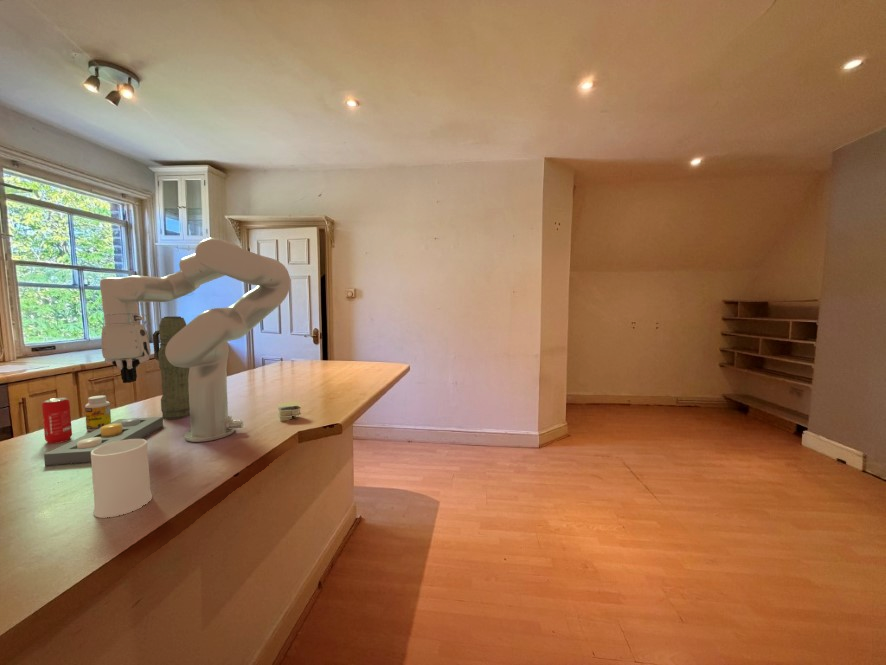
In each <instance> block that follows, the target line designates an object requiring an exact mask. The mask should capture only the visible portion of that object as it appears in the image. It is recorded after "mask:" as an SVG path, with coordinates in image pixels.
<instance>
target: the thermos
mask: <svg viewBox="0 0 886 665" xmlns="http://www.w3.org/2000/svg"><path fill="white" fill-rule="evenodd" d="M186 325H187V323H186V320H185V318H184V317H181V316H163V317H162V318H160V322H159V325H158V330H155V331H154V332H153V333H152V341H153V342H152V343H153V353H154V356H153V357H154V359H155V360H157V361H158V368H159V369H160V373H161V374H160V375H161V389H162V390H161V392H162V395H161V398H160V407H161V408H160V409H161V410H160V411H161V412H162V416H161V417H163V420H176V419H177V420H178V419H183V418H187V417H190V405H189V383H188V378H189V371H190V368H180V367H176V366H174V365H172V364H171V363H170V362H169V361H168V360H167V358H166V355H165V349H166V346H167V343H168V342H169V340H170V339H171V338H172V337H173V336H174V335H175V334H176V333H178V332H179V331H180V330H181V329H182V328H184V327H185V326H186Z"/></svg>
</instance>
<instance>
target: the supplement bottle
mask: <svg viewBox="0 0 886 665" xmlns="http://www.w3.org/2000/svg"><path fill="white" fill-rule="evenodd" d="M87 400H88V401H87V402H88V403H86V404H85V406H84V412H85V425H86V431H87V432H93V431H95V430H97V429H99V428H101V427H102V426H105V425H108V424H110V423H112V416H111V403H110V402H109V401H107V396H106V395H95V396H90V397H88V398H87Z"/></svg>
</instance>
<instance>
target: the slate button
mask: <svg viewBox="0 0 886 665" xmlns="http://www.w3.org/2000/svg"><path fill="white" fill-rule="evenodd" d="M140 418H141V417H130V418H124V419H125V420H122V421H121V424H122V426H136V425H138V424H139V423H140Z"/></svg>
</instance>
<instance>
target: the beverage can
mask: <svg viewBox="0 0 886 665" xmlns="http://www.w3.org/2000/svg"><path fill="white" fill-rule="evenodd" d="M41 408H42V410H41V411H42V419H43V432H44V434H43V435H44V440H45V441H46V442H47V444H49V445H52V444H59V443H63V442H67V441H69V440H70V439H71V437H72V435H73V430H72V417H71V415H72V414H71V404H70V400H69V398H68V397H56V398H55V397H54V398H50V399H46V400H43V401H42V404H41Z"/></svg>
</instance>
